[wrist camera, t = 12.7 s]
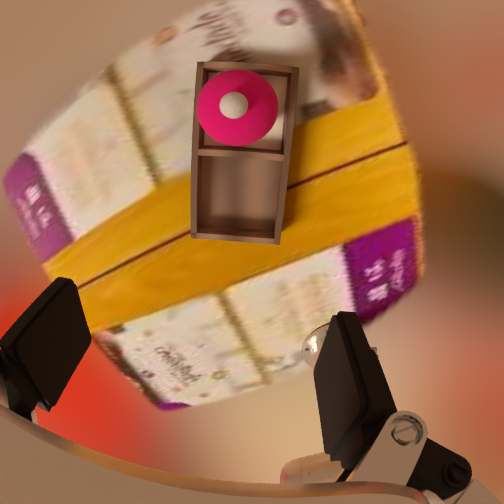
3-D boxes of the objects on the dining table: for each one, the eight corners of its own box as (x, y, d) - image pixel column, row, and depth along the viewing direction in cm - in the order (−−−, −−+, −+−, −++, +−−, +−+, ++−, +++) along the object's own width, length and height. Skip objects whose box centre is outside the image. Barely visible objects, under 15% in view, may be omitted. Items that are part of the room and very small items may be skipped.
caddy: (295, 72, 31) (299, 67, 28) (277, 234, 42) (279, 244, 38) (202, 66, 31) (197, 61, 28) (195, 228, 41) (190, 237, 38)
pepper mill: (229, 78, 31) (197, 37, 13) (282, 96, 32) (311, 74, 14) (210, 128, 34) (159, 142, 16) (262, 146, 35) (267, 178, 17)
